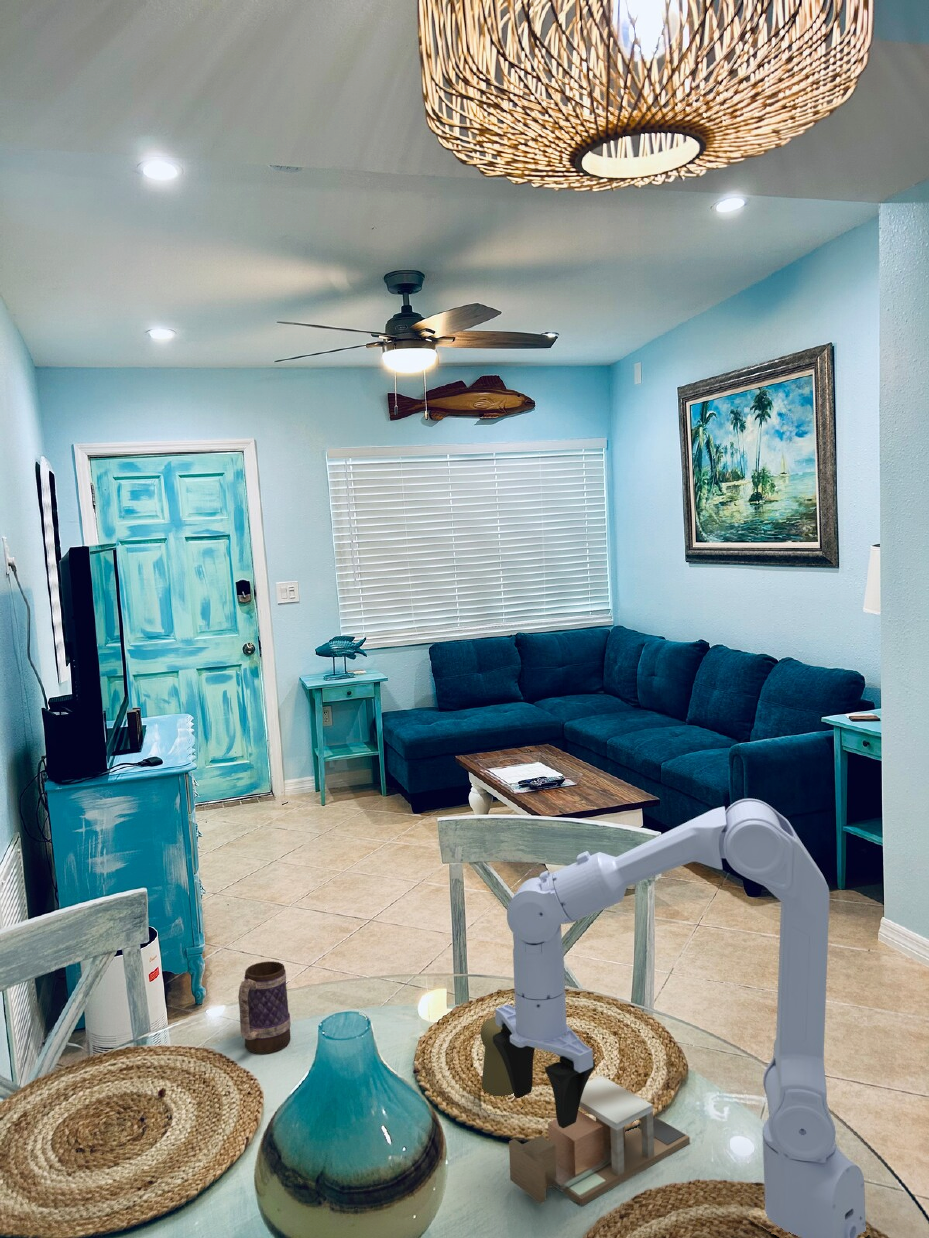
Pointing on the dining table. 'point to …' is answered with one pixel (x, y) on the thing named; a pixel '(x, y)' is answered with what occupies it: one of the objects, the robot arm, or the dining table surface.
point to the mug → (264, 1008)
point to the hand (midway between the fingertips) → (544, 1108)
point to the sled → (560, 1156)
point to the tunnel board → (640, 1142)
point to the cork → (493, 1063)
